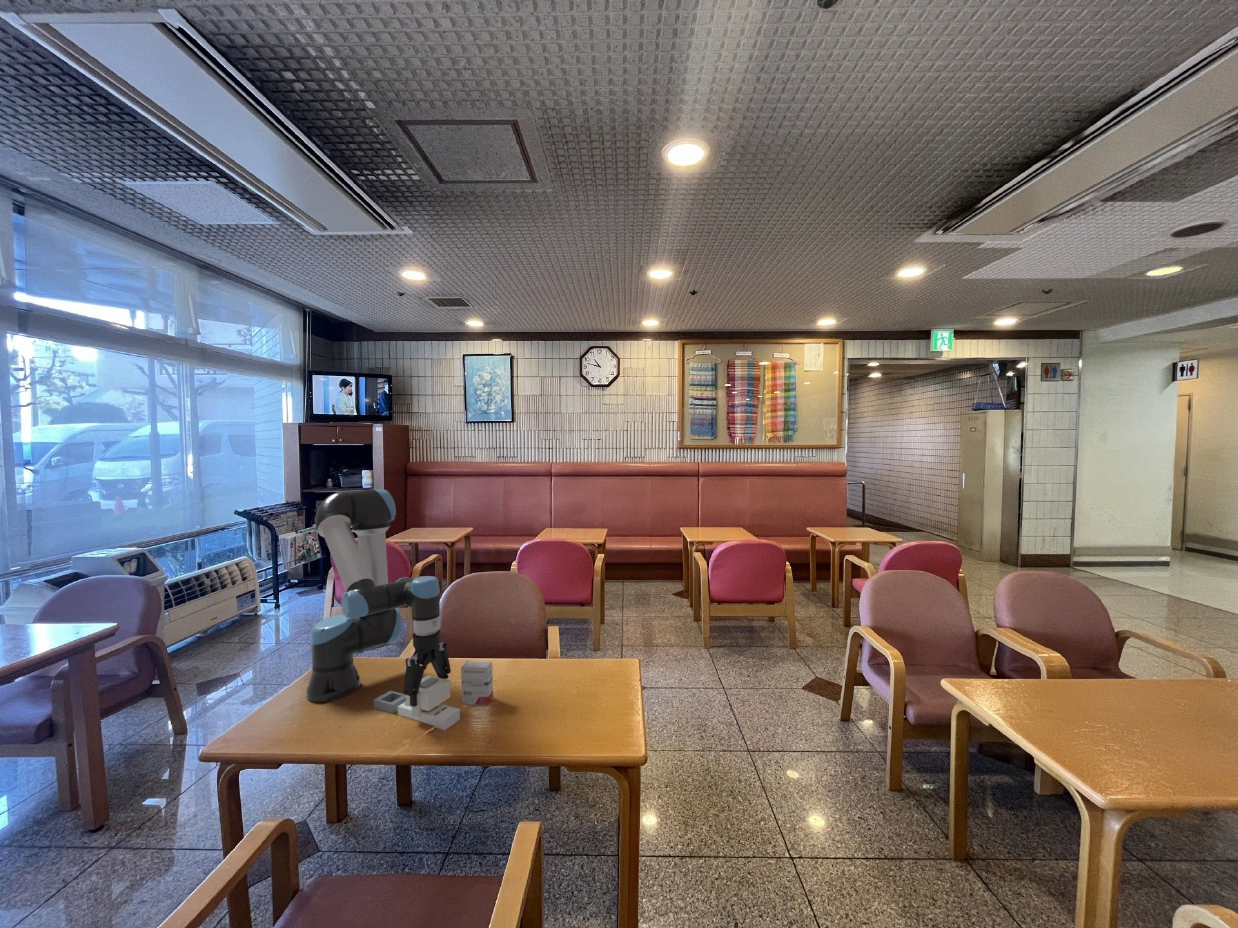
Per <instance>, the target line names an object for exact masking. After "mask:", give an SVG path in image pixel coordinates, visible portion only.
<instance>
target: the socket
mask: <svg viewBox="0 0 1238 928" xmlns="http://www.w3.org/2000/svg"><path fill="white" fill-rule="evenodd" d="M397 715H398V716H400V717H403V718H407V719H410V720H414V721H418V722H421V723H425V724H428V725H430V726H431V725H432V727H433V728H436V729H439V730H443V731H446V730H447V729H449V728H450V727H452V726H453V725H455V724H456V723H457V722H459V721H460V720H461V709H460V708H457V707H453V706H449V705H446V704H443V703H440V704H439V705H437V708H436V709H434V710H433V711H431V712H429V713H427V712H424V711H421V717H415V716H412V706H408V705H406V702H404V703H403V704H401V705H399V706H398V711H397Z"/></svg>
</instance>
